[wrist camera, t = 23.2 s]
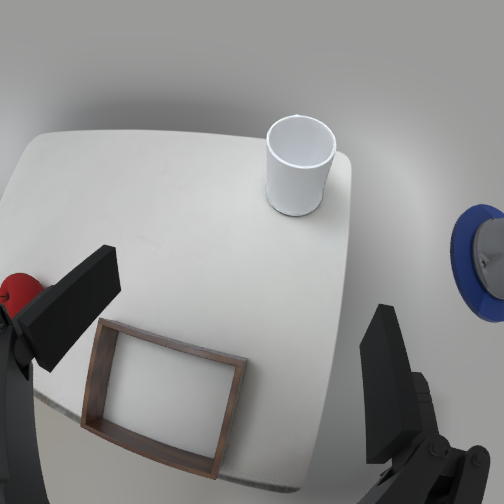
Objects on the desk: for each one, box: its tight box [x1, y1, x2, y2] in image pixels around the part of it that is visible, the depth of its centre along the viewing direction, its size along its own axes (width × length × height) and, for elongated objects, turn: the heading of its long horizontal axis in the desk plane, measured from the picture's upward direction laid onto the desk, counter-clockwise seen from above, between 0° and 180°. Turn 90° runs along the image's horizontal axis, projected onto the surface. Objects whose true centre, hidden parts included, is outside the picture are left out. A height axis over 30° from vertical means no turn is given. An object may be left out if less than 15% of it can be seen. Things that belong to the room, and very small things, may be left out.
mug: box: [265, 114, 336, 216], centre depth 38 cm, size 12×8×12 cm
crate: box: [81, 318, 247, 480], centre depth 33 cm, size 16×20×5 cm
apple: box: [0, 273, 44, 319], centre depth 35 cm, size 9×9×10 cm
